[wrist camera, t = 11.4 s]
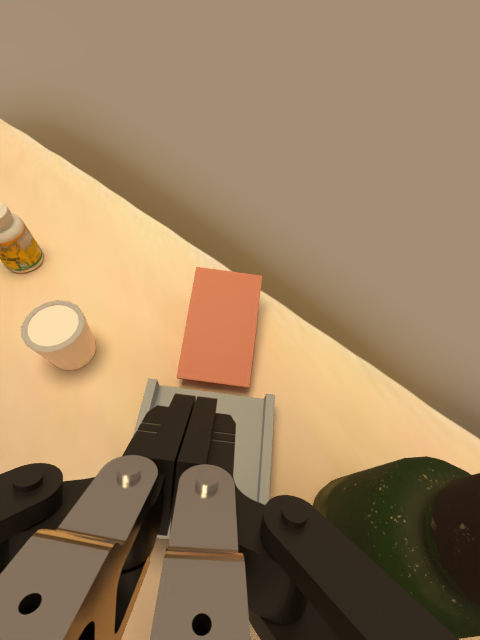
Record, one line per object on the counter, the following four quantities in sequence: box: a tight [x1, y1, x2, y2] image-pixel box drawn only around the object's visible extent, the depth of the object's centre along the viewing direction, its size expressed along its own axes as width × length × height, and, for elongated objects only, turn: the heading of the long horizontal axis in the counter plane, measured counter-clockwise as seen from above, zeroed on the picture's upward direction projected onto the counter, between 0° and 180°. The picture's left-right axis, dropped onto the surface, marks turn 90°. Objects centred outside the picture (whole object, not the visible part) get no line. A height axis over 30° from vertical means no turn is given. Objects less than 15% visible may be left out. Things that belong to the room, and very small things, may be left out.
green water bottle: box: [313, 457, 480, 639], centre depth 26 cm, size 10×10×25 cm
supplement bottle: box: [0, 202, 43, 273], centre depth 47 cm, size 5×5×10 cm
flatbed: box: [133, 378, 275, 539], centre depth 35 cm, size 15×15×9 cm
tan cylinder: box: [21, 300, 96, 370], centre depth 41 cm, size 7×7×7 cm
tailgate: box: [177, 267, 262, 388], centre depth 44 cm, size 2×9×15 cm
